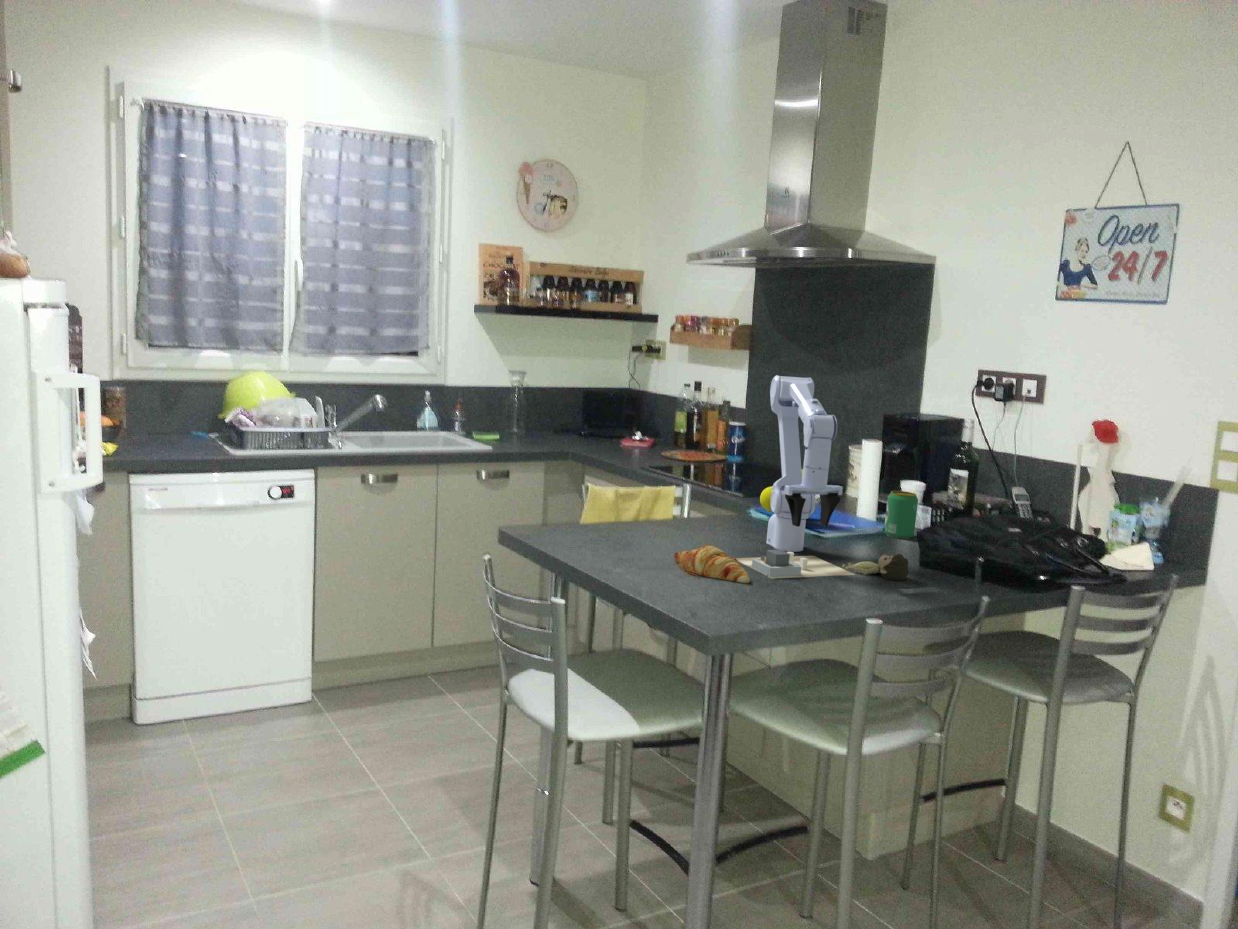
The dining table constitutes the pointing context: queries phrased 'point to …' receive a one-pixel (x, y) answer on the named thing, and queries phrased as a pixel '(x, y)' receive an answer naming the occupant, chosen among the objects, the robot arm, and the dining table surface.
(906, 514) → the beverage can
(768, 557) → the block
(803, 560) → the twin white cubes
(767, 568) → the end holder
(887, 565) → the figurine
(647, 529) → the dining table surface
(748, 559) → the board
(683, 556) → the croissant
